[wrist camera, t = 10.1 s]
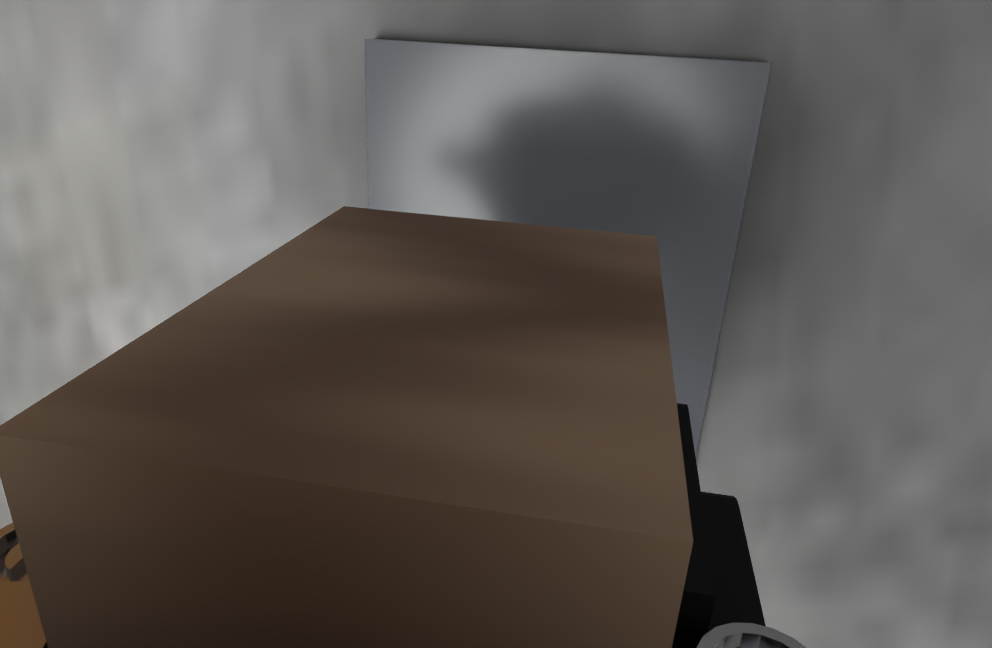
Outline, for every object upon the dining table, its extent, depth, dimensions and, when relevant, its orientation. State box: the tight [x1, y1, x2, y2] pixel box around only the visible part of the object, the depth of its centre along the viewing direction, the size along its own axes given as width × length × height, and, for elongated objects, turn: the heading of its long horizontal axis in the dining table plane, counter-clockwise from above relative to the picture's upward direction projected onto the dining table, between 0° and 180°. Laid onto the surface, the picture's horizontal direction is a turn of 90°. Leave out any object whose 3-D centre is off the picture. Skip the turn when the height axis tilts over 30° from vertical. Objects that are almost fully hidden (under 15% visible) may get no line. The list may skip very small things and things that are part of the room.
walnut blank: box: [0, 206, 693, 648], centre depth 9 cm, size 5×7×7 cm
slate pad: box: [365, 39, 772, 457], centre depth 20 cm, size 10×12×1 cm
